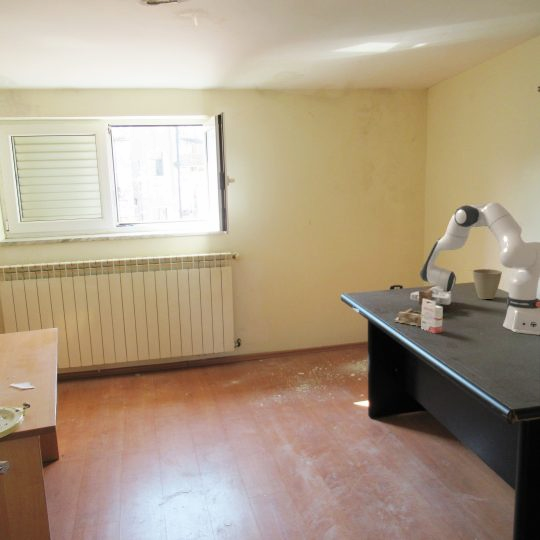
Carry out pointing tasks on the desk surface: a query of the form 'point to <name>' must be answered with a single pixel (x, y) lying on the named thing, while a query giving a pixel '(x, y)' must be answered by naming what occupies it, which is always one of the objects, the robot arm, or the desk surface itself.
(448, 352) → the desk surface
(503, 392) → the desk surface
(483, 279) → the plant pot
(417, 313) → the track
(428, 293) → the tall tan wooden block
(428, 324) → the ink cartridge box
